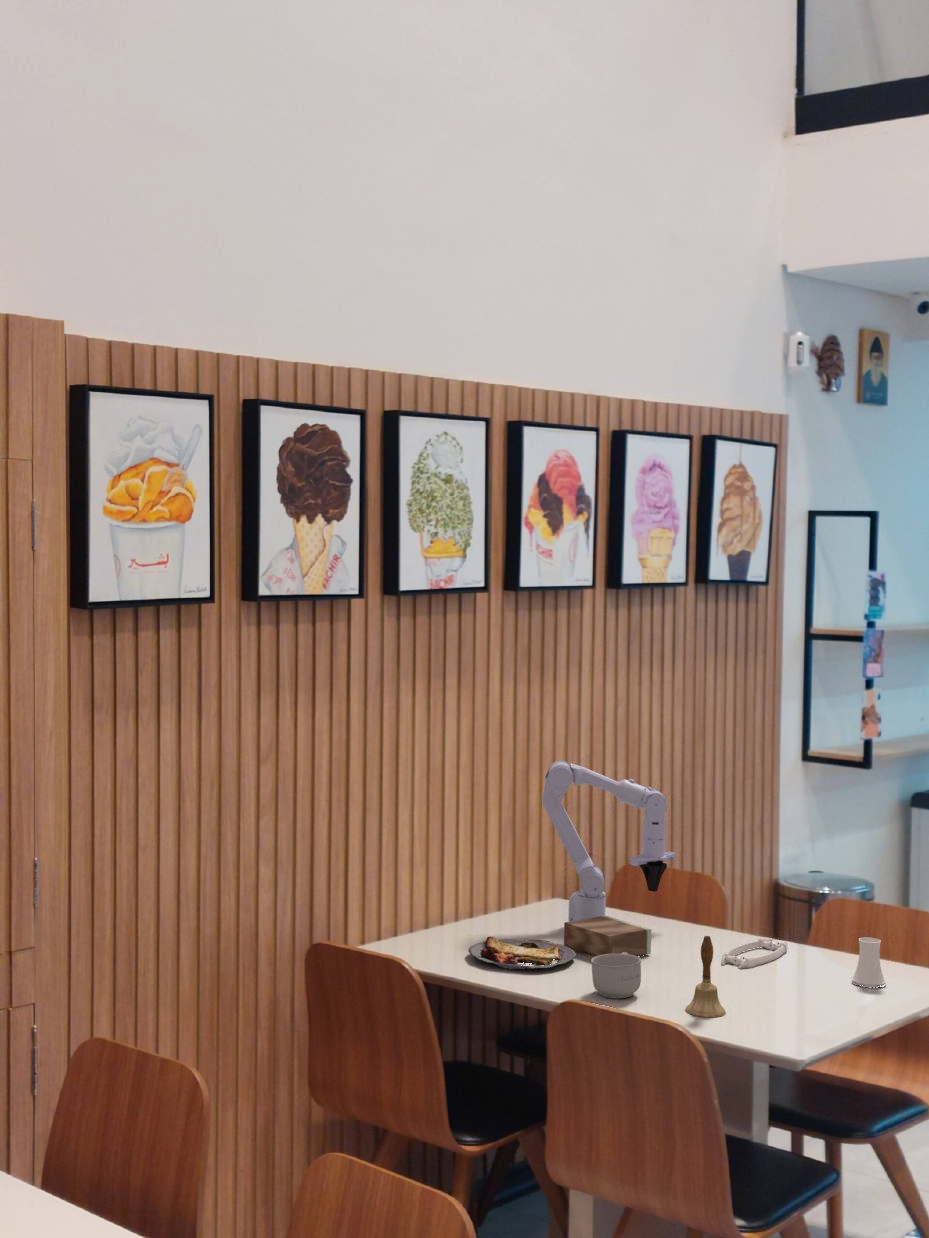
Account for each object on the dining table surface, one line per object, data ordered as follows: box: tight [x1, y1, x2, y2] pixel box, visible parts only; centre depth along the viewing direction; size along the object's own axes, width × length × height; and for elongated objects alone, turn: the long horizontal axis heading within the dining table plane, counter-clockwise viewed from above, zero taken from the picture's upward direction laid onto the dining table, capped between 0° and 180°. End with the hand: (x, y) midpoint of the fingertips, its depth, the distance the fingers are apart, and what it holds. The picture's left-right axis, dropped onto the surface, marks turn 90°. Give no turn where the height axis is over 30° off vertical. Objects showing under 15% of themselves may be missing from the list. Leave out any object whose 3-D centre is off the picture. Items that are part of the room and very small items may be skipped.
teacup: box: [590, 952, 642, 999], centre depth 312 cm, size 14×11×8 cm
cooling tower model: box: [850, 936, 887, 989], centre depth 324 cm, size 8×8×10 cm
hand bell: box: [685, 935, 726, 1019], centre depth 300 cm, size 8×8×16 cm
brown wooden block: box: [563, 916, 647, 959], centre depth 346 cm, size 16×12×6 cm
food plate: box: [468, 935, 577, 970], centre depth 338 cm, size 25×23×4 cm
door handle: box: [721, 937, 788, 970], centre depth 345 cm, size 3×10×25 cm
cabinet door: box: [602, 915, 652, 955], centre depth 351 cm, size 17×2×6 cm, turn 37°
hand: (652, 890), depth 368 cm, fingers closed
